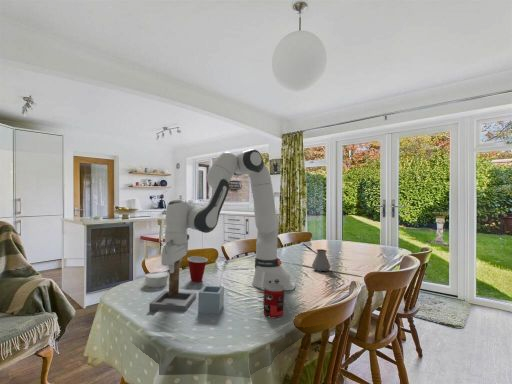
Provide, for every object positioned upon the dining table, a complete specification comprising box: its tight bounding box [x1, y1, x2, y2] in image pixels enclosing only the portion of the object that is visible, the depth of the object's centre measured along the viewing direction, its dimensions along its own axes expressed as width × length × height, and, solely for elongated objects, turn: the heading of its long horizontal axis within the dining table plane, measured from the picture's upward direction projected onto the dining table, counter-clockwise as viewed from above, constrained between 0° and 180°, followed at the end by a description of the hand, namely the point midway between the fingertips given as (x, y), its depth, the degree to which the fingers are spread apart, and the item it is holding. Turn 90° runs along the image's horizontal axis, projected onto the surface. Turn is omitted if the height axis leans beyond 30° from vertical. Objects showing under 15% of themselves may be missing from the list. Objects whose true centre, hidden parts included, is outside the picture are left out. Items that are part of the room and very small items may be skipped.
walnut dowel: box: [168, 261, 181, 296], centre depth 119 cm, size 4×4×14 cm
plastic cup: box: [187, 255, 209, 283], centre depth 152 cm, size 11×11×12 cm
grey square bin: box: [197, 284, 225, 315], centre depth 113 cm, size 8×8×9 cm
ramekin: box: [144, 271, 169, 288], centre depth 143 cm, size 11×11×5 cm
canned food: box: [263, 284, 285, 318], centre depth 113 cm, size 8×8×11 cm
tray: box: [148, 290, 197, 312], centre depth 119 cm, size 15×15×3 cm
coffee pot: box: [301, 243, 331, 272], centre depth 183 cm, size 21×12×15 cm, turn 43°
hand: (174, 270), depth 119 cm, fingers closed on walnut dowel, 4 cm apart
